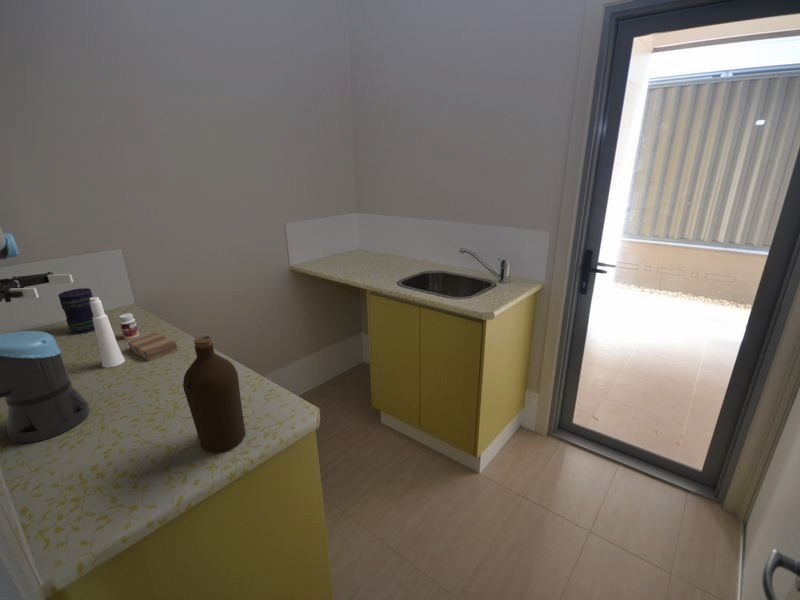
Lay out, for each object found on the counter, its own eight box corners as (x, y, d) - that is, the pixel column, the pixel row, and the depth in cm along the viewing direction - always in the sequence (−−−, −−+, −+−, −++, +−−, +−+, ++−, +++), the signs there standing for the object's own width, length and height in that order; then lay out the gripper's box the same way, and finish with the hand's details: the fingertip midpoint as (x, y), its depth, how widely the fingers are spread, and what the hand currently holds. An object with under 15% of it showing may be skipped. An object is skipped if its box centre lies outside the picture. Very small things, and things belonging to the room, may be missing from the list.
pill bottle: (120, 338, 142) (114, 317, 139) (132, 333, 147) (126, 312, 144) (130, 340, 141) (124, 318, 138) (142, 334, 145) (136, 313, 142)
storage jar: (101, 321, 158) (90, 286, 153) (103, 329, 151) (92, 292, 146) (69, 328, 152) (57, 292, 147) (70, 336, 145) (57, 298, 140)
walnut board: (177, 350, 132) (175, 342, 131) (148, 361, 125) (146, 352, 124) (158, 340, 140) (156, 332, 139) (130, 350, 133) (128, 342, 132)
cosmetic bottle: (101, 363, 125) (80, 297, 118) (123, 356, 129) (105, 293, 121) (103, 370, 121) (81, 302, 113) (126, 363, 124) (107, 297, 117)
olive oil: (241, 453, 85) (220, 349, 76) (189, 457, 84) (163, 352, 75) (253, 422, 94) (236, 327, 86) (207, 426, 94) (186, 330, 85)
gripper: (19, 286, 127) (87, 284, 129) (-61, 316, 104) (24, 312, 105) (10, 264, 125) (80, 262, 126) (-73, 289, 101) (14, 286, 103)
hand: (55, 285), depth 116 cm, fingers open, 13 cm apart
